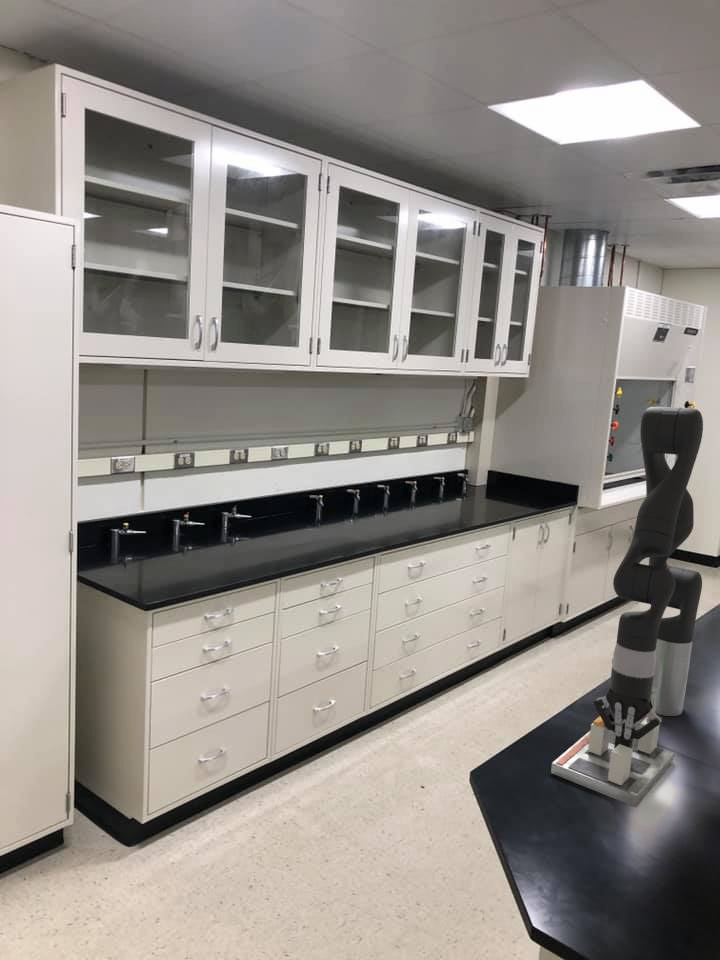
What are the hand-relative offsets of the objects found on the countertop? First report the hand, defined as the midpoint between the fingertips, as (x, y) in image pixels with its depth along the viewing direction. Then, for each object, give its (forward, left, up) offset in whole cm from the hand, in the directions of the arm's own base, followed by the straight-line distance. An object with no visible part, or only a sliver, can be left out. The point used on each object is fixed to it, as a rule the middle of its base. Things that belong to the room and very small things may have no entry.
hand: (621, 754), depth 147 cm
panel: (0, -1, -3) cm, 3 cm away
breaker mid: (0, -5, -1) cm, 5 cm away
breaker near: (+8, +2, -1) cm, 8 cm away
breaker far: (-8, +2, -1) cm, 8 cm away
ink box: (-20, -4, -3) cm, 21 cm away
